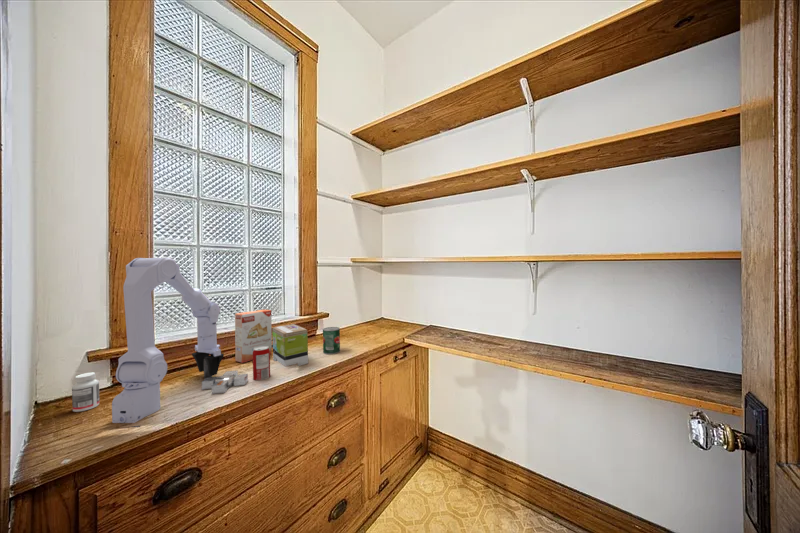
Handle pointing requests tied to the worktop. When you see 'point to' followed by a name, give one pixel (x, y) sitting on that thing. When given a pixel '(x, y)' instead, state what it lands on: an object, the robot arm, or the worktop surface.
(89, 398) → the pill bottle
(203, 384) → the tabbed chrome dome
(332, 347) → the canned tomato
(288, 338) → the tea box
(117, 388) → the worktop surface
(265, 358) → the soda can
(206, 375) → the black pin
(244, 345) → the cracker box
